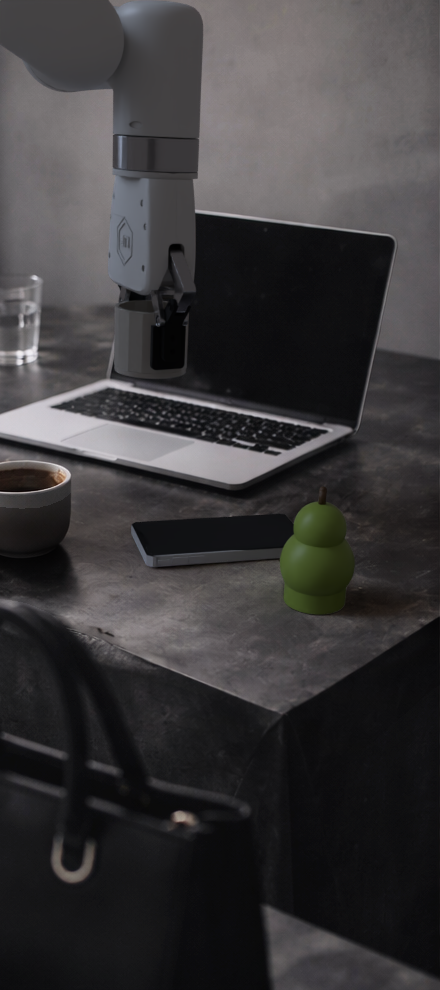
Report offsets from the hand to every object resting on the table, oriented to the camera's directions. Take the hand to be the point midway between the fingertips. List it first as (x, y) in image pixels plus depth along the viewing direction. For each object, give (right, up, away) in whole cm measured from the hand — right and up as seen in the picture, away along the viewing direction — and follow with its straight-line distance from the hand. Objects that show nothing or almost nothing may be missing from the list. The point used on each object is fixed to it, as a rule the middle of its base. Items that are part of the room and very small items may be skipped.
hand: (150, 357), depth 92 cm
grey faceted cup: (0, -1, 0) cm, 1 cm away
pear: (+14, -21, -12) cm, 29 cm away
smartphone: (+6, -18, -3) cm, 19 cm away
